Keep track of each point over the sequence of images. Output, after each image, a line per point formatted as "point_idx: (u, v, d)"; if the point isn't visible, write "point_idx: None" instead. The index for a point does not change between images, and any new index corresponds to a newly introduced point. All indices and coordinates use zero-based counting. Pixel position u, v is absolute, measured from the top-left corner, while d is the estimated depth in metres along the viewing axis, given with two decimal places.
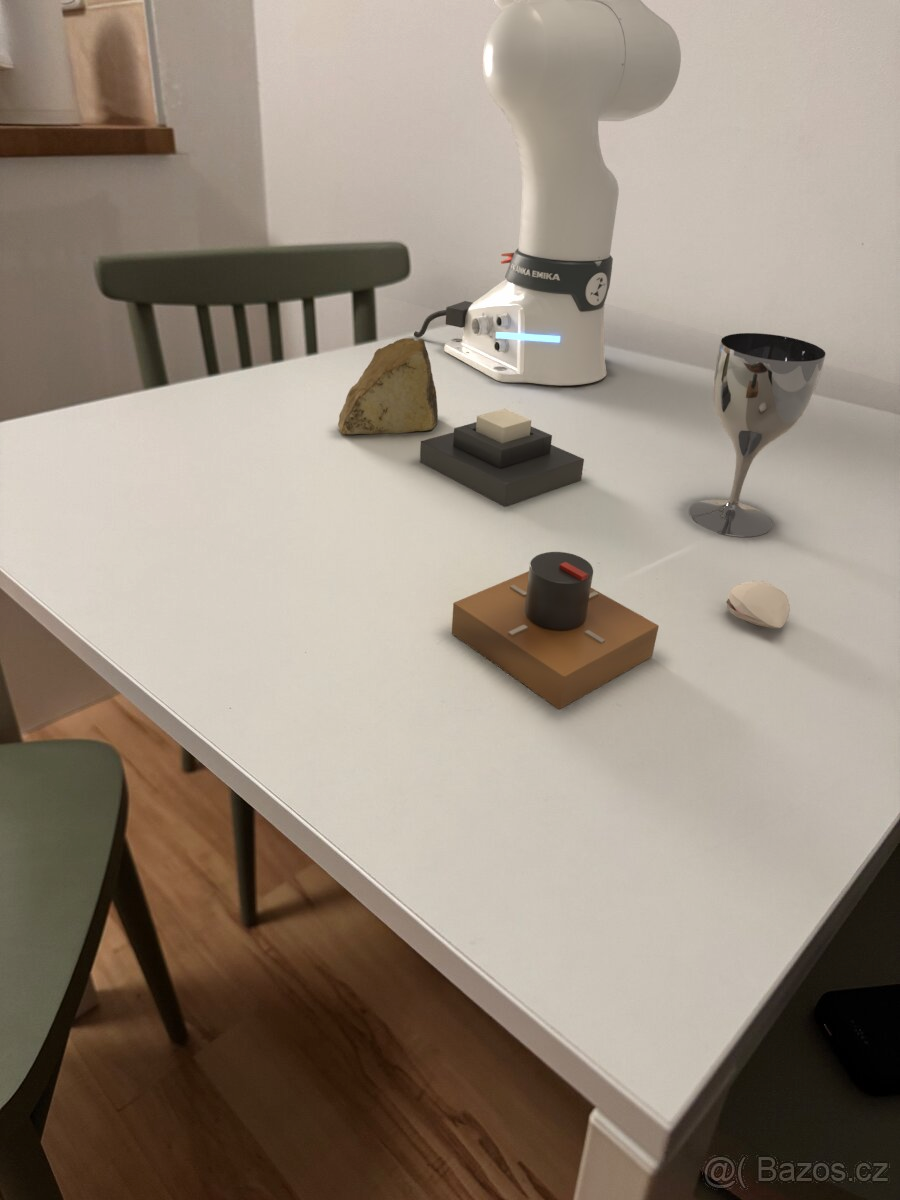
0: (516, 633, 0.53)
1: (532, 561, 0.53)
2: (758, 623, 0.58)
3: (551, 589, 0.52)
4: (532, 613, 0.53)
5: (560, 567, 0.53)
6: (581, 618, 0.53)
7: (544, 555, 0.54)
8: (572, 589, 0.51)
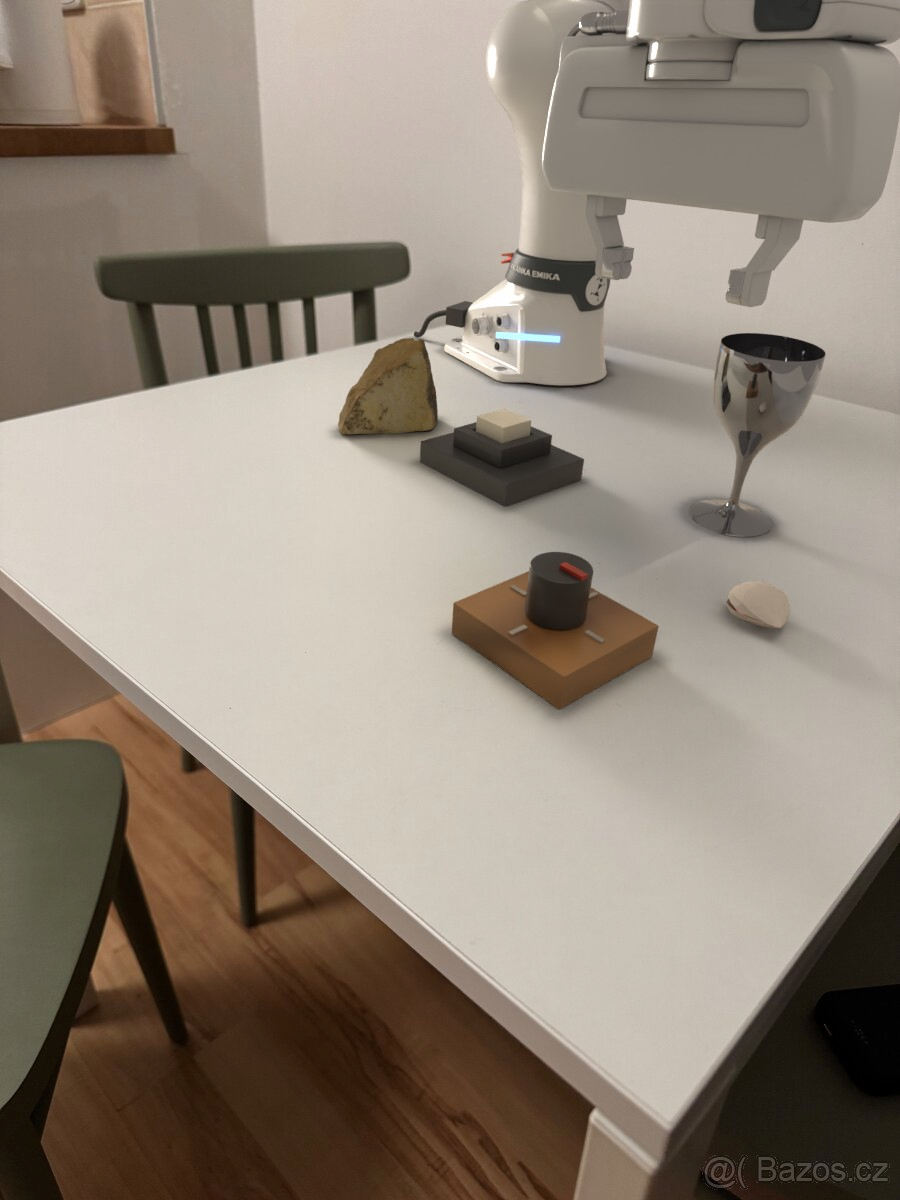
0: (516, 633, 0.53)
1: (532, 561, 0.53)
2: (758, 623, 0.58)
3: (551, 589, 0.52)
4: (532, 613, 0.53)
5: (560, 567, 0.53)
6: (581, 618, 0.53)
7: (544, 555, 0.54)
8: (572, 589, 0.51)
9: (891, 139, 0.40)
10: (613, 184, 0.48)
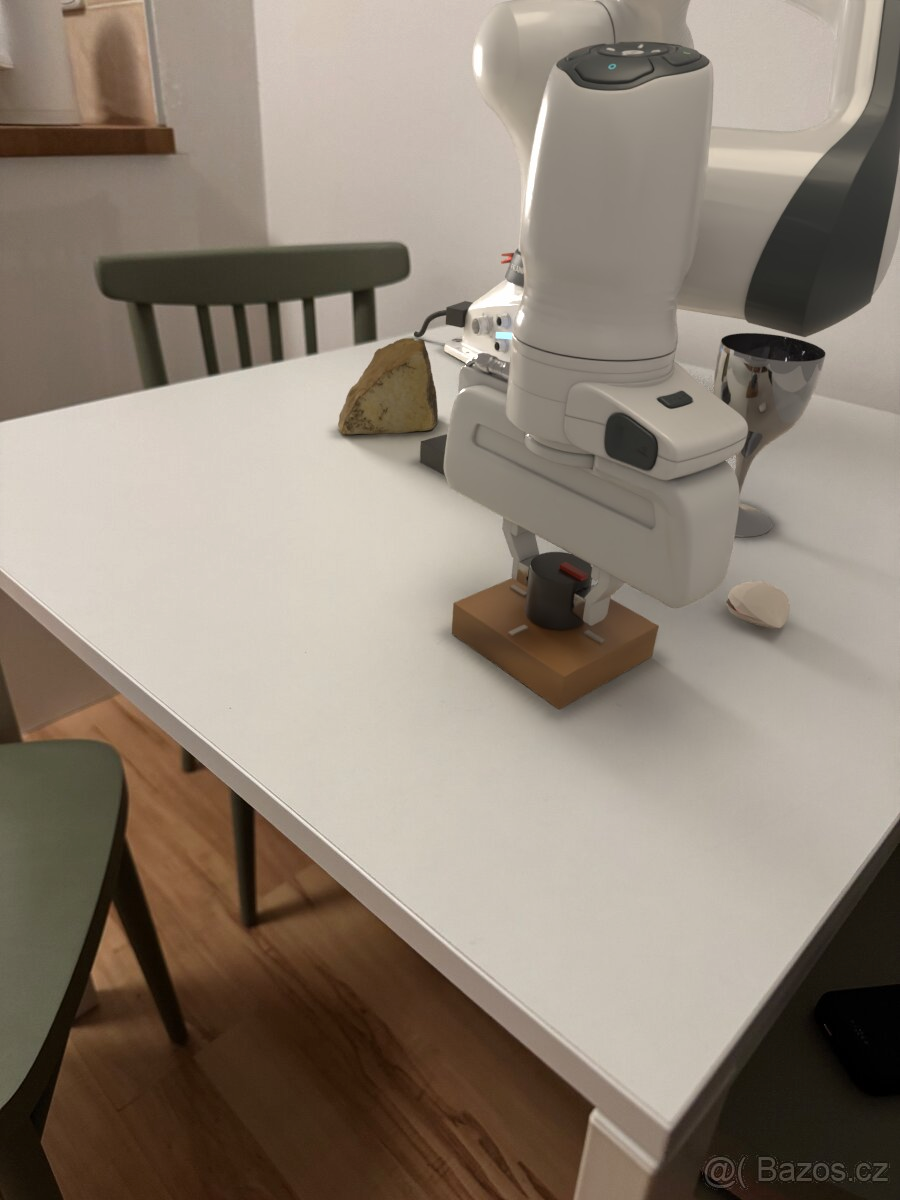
0: (516, 633, 0.53)
1: (532, 561, 0.53)
2: (758, 623, 0.58)
3: (551, 589, 0.52)
4: (532, 613, 0.53)
5: (560, 567, 0.53)
6: None
7: (544, 555, 0.54)
8: (572, 589, 0.51)
9: (729, 541, 0.44)
10: (502, 509, 0.53)
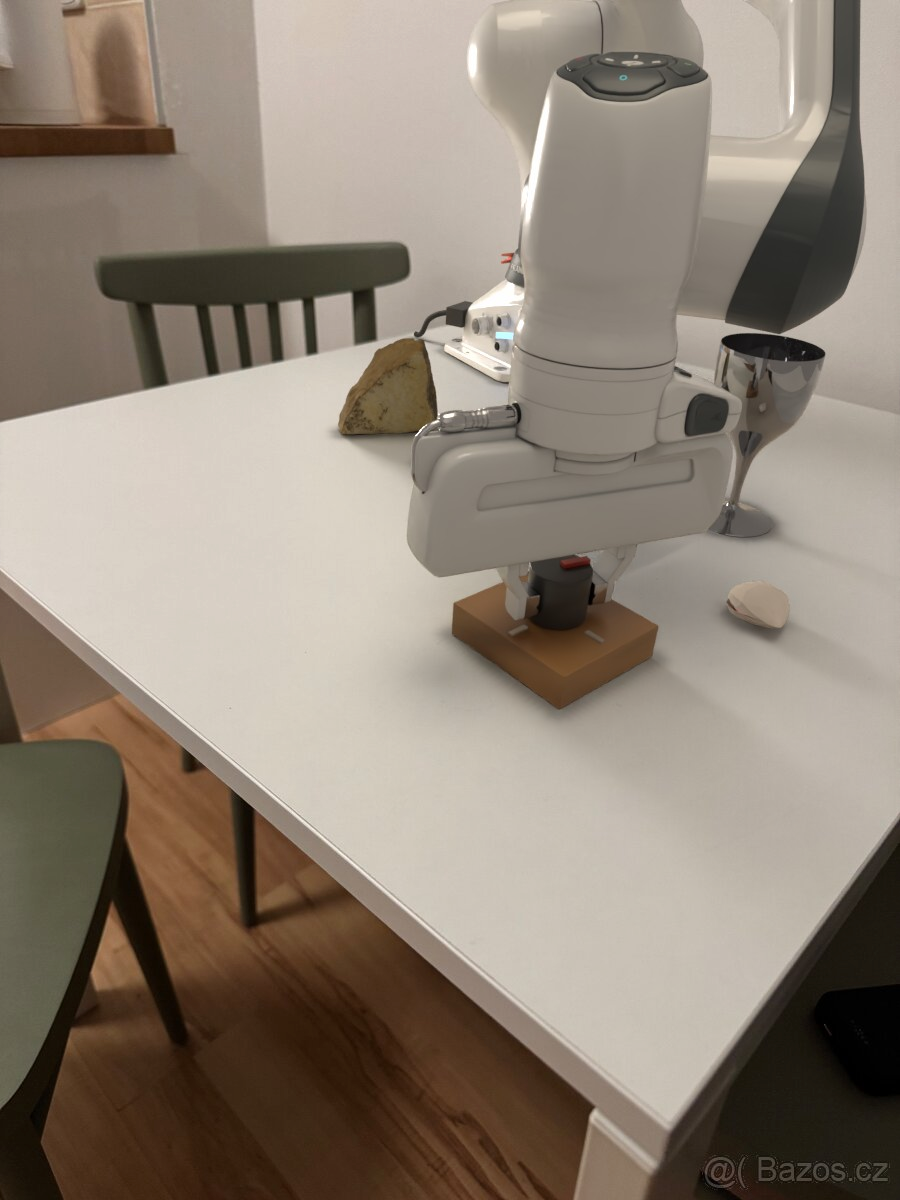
0: (516, 633, 0.53)
1: (548, 578, 0.51)
2: (758, 623, 0.58)
3: (587, 585, 0.52)
4: (568, 621, 0.53)
5: (566, 566, 0.53)
6: None
7: (536, 569, 0.52)
8: None
9: None
10: (524, 555, 0.49)
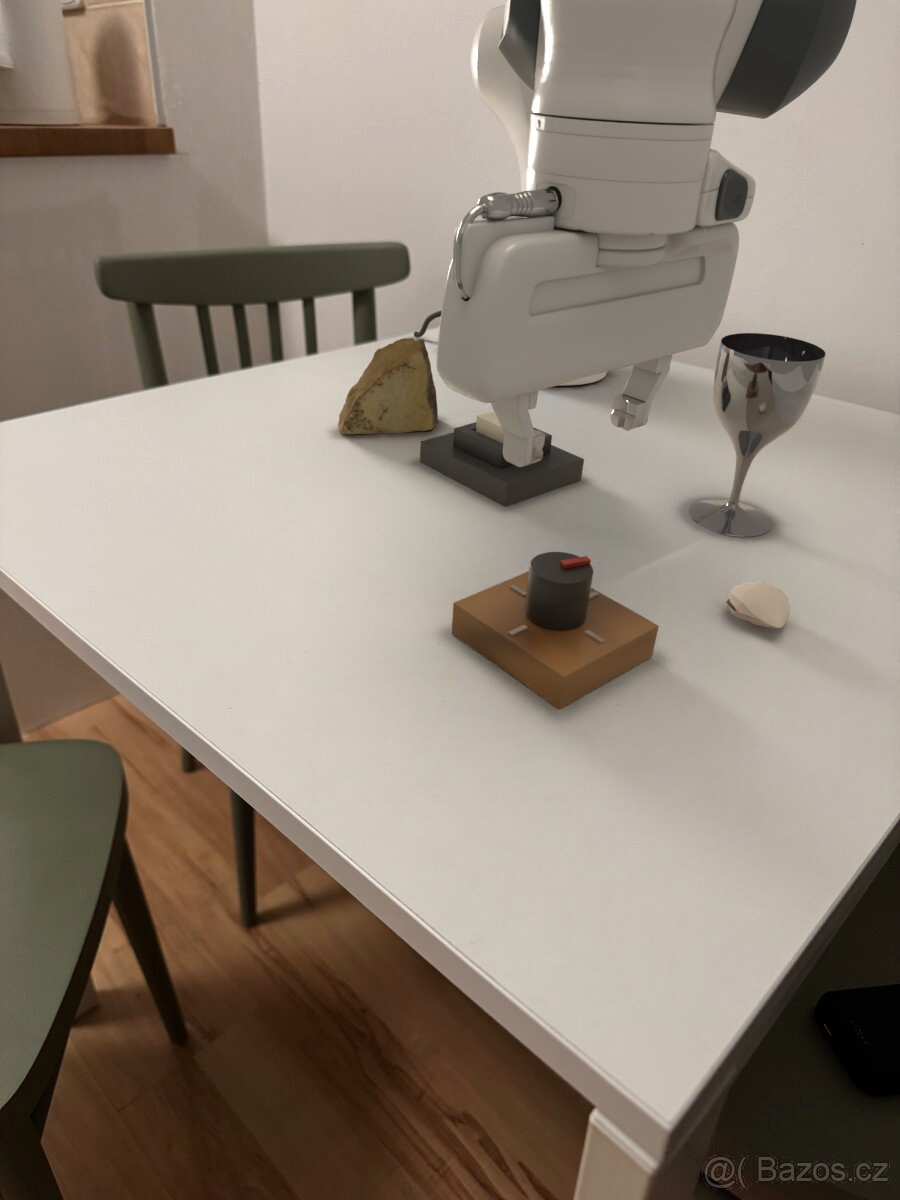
0: (516, 633, 0.53)
1: (548, 578, 0.51)
2: (758, 623, 0.58)
3: (587, 585, 0.52)
4: (568, 621, 0.53)
5: (566, 566, 0.53)
6: None
7: (536, 569, 0.52)
8: None
9: None
10: (566, 373, 0.43)
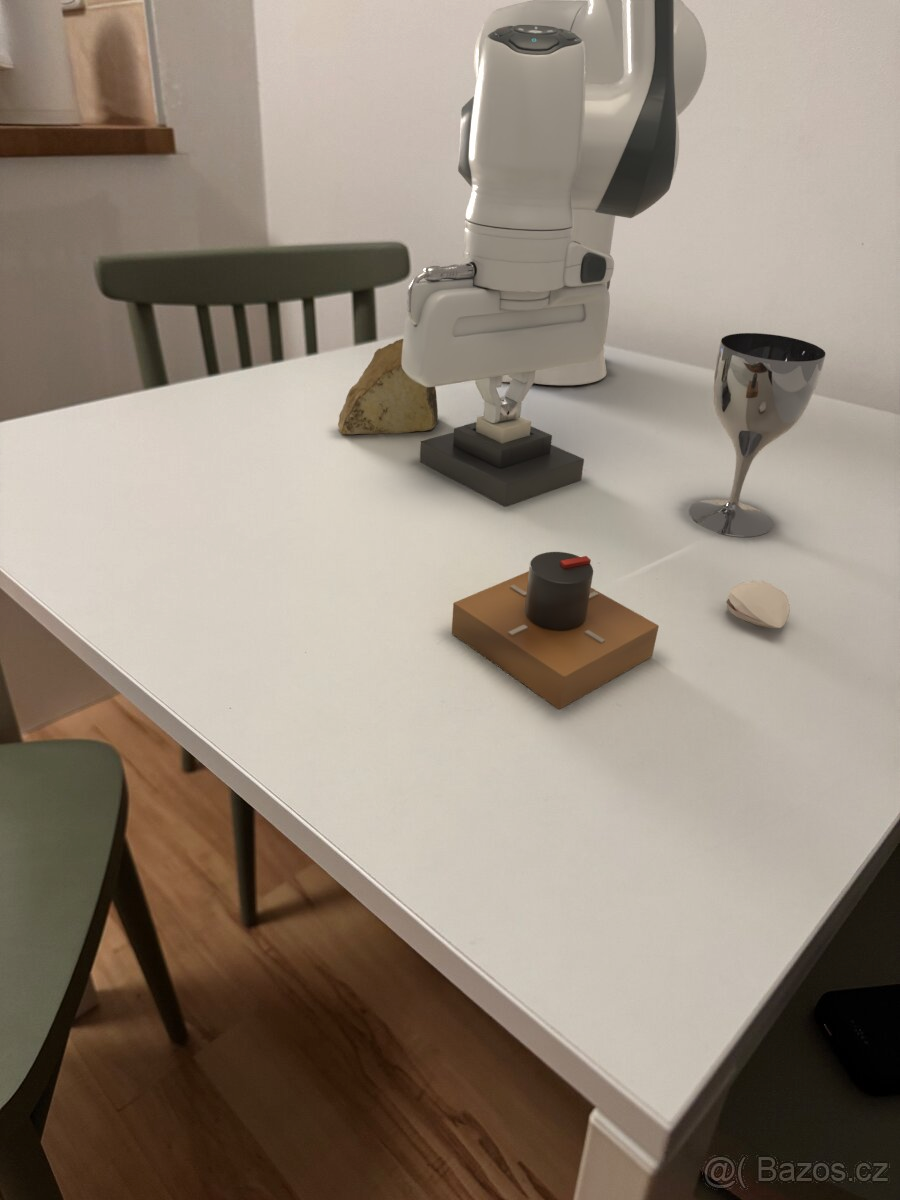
0: (516, 633, 0.53)
1: (548, 578, 0.51)
2: (758, 623, 0.58)
3: (587, 585, 0.52)
4: (568, 621, 0.53)
5: (566, 566, 0.53)
6: None
7: (536, 569, 0.52)
8: None
9: None
10: (482, 372, 0.71)
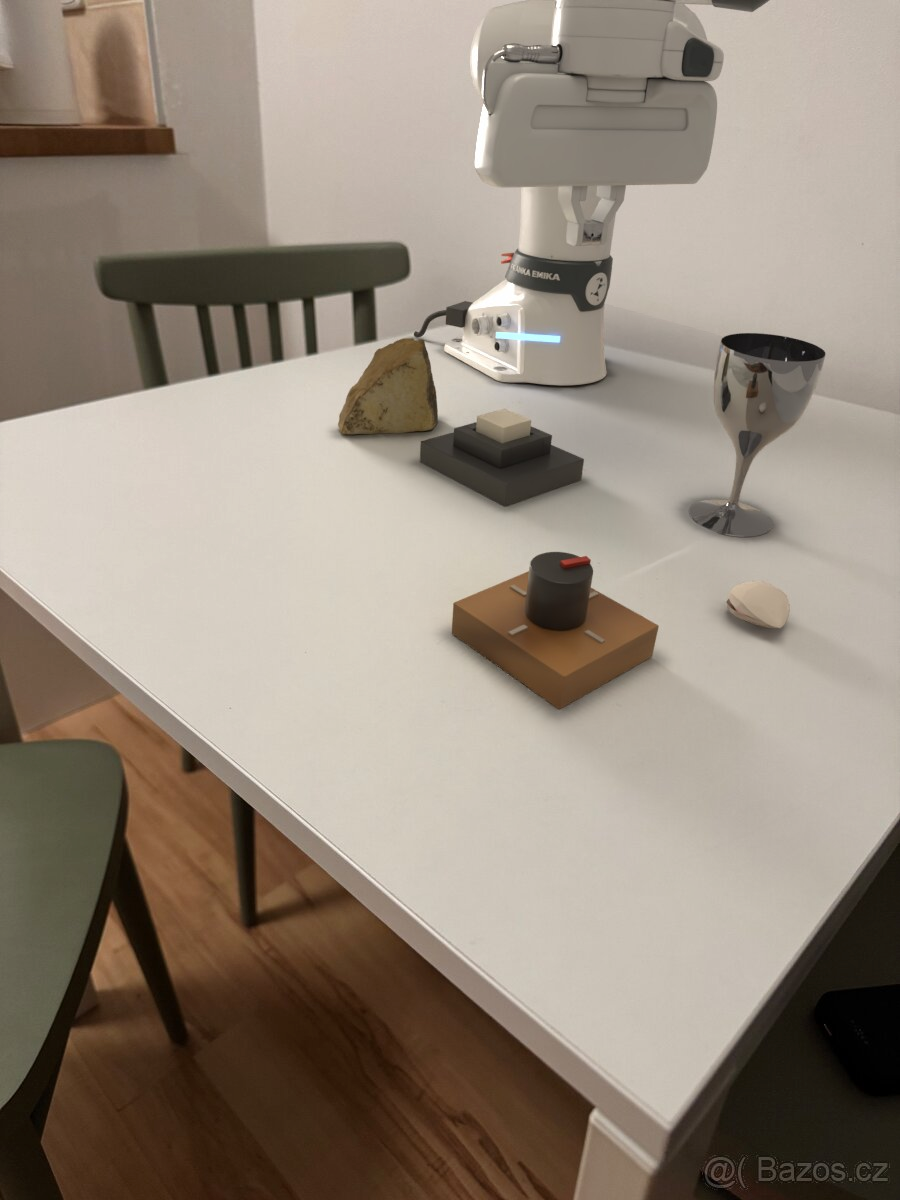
0: (516, 633, 0.53)
1: (548, 578, 0.51)
2: (758, 623, 0.58)
3: (587, 585, 0.52)
4: (568, 621, 0.53)
5: (566, 566, 0.53)
6: None
7: (536, 569, 0.52)
8: None
9: None
10: (563, 177, 0.65)
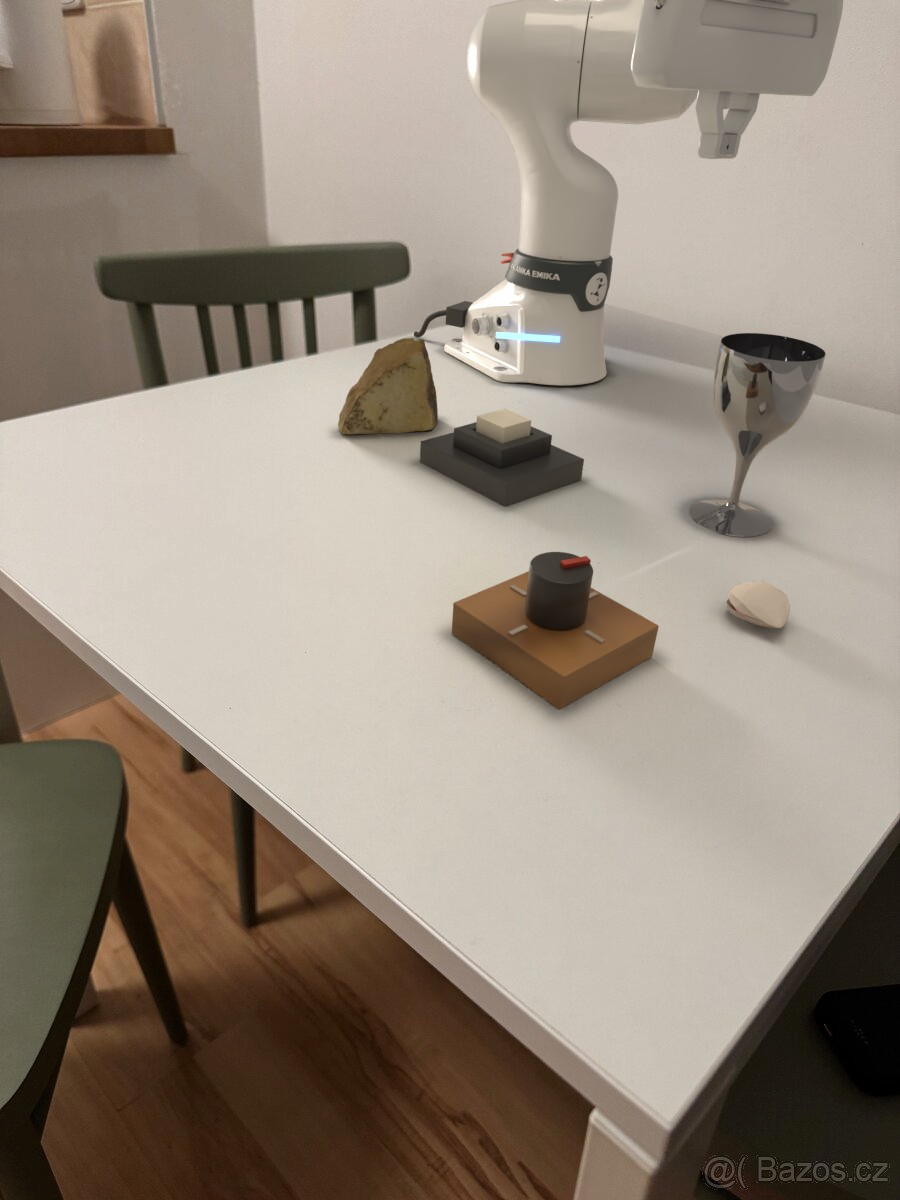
0: (516, 633, 0.53)
1: (548, 578, 0.51)
2: (758, 623, 0.58)
3: (587, 585, 0.52)
4: (568, 621, 0.53)
5: (566, 566, 0.53)
6: None
7: (536, 569, 0.52)
8: None
9: None
10: (718, 80, 0.62)
